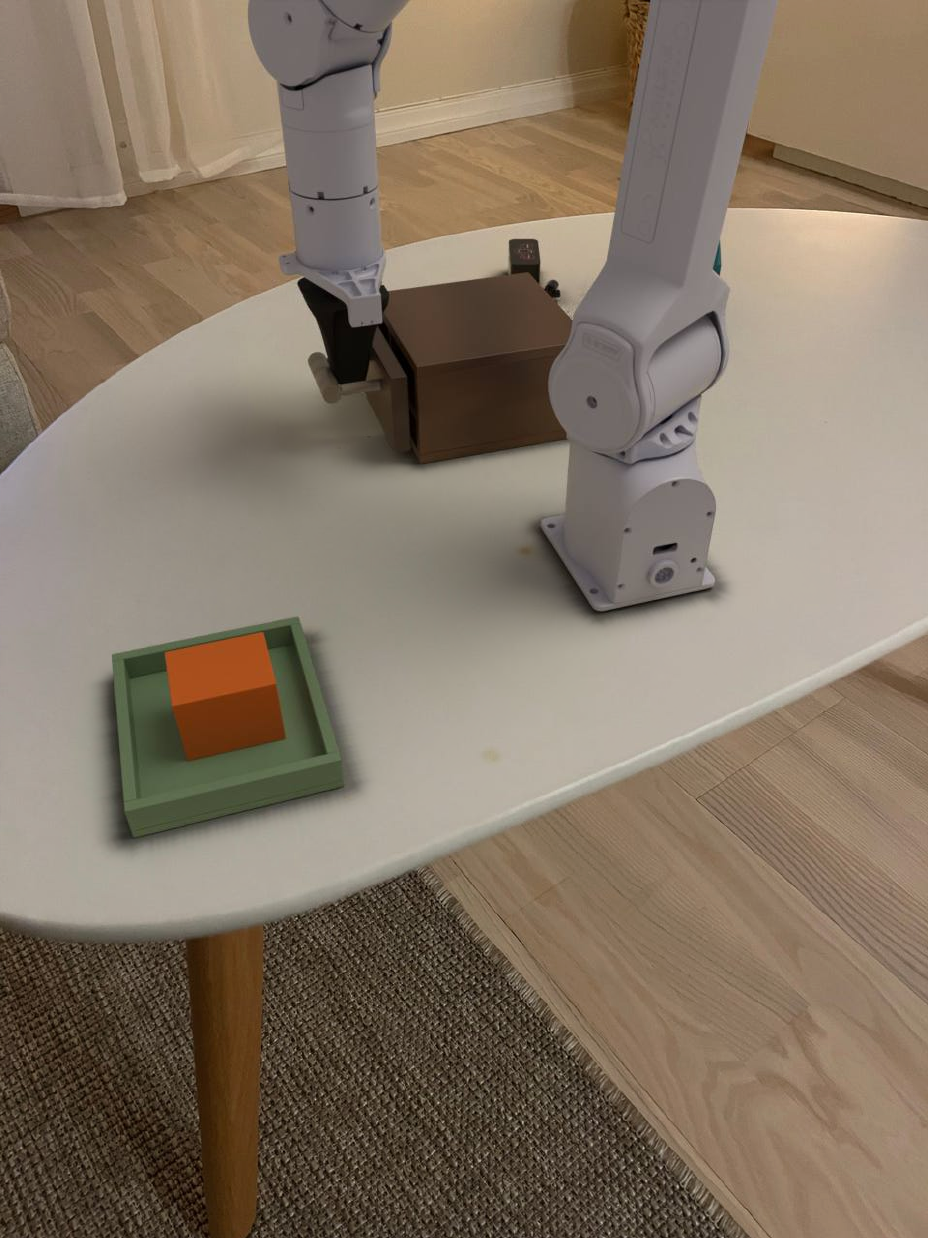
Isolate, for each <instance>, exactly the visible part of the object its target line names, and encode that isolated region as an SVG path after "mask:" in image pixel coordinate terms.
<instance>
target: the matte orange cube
mask: <svg viewBox="0 0 928 1238" xmlns="http://www.w3.org/2000/svg"><path fill="white" fill-rule="evenodd" d="M165 660H166V667H167V675H168V682H169V689H170V696H171V703H172V708H173V712H174V716H175V719H176V723H177V726H178V730H179V733H180V737H181V741H182V744H183V748H184V751H185V755H186V758H187V761H191V760H195V759H200V758H204V757H208V756H213V755H217V754H221V753H226V752H230V751H234V750H239V749H243V748H247V747H252V746H256V745H260V744H265V743H269V742H273V741H277V740H282V739H285V738H286V735H285V729H284V724H283V718H282V712H281V707H280V701H279V696H278V690H277V685H276V680H275V676H274V672H273V668H272V664H271V661H270V657H269V653H268V649H267V645H266V641H265V637H264V633H263V632H260V633H256V634H251V635H246V636H241V637H236V638H231V639H226V640H222V641H217V642H212V643H207V644H202V645H197V646H193V647H188V648H183V649H178V650H173V651H168V652H165Z"/></svg>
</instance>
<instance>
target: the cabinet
mask: <svg viewBox="0 0 928 1238" xmlns="http://www.w3.org/2000/svg"><path fill="white" fill-rule="evenodd" d="M544 289H545V288H544V287H542V285H541V284H540V285H539V284H538V282H537V281H536V280H535V279H534V278H533V277H532V276H531V275H530V274H529V273H528V272H526V273H518V274H511V275H509V274H503V275H498V276H497V275H496V276H489V277H482V278H474V279H468V280H460V281H452V282H444V283H438V284H429V285H422V286H414V287H408V288H407V287H406V288H401V289H393V290H387V291H388V292H389V302H388V306H387V307H386V309H385V311H384V312H383V314H382V323H381V324H378V327H379V329H380V331H381V332H382V334H383V336H384V338H385V339H386V341H387V343H388V344H389V336H388V329H389V331H390V333H391V334H392V336H393V338H394V339H395V341H396V343H397V344H398V346H399V348H400V349H401V351H402V353H403V354H404V356H405V358H406V359H407V361H408V363H409V364H410V366H411V368H412V369H413V371H414V383H415V407H416V420H415V418H414V416H413V414H412V413H411V411H410V409H409V424H410V446H411V449H412V450H413V452H414V454H415V456H416V458H417V459H418V461H419V464H421V465H423V464H428V463H434V462H441V461H445V460H451V459H456V458H463V457H468V456H469V457H470V456H474V455H480V454H486V453H492V452H497V451H501V450H502V451H503V450H508V449H515V448H520V447H525V446H532V445H536V444H543V443H547V442H554V441H560V440H565V439H567V438H566V436H567V432H566V431H565V430H564V428H563V427H562V426H561V424H560V423H559V421H558V419H557V417H556V415H555V413H554V411H553V408H552V405H551V402H550V397H549V391H548V381H549V373H550V370H551V367H552V365H553V363H554V361H555V359H556V357H557V356H558V355H559V354H560V352H561V351H562V350H563V349H564V347H565V346H566V344H567V342H568V339H569V337H570V333H571V328H572V322H573V318H571V317H570V316H569V314H567V312H565V310H564V309H563V308H562V307H561V306H560V305H559V303H557V302H556V301H555V300H554V298H553V297H552V298H551V296H550V295H549V294H548V293H547V292H546V291H545V290H544Z"/></svg>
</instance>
